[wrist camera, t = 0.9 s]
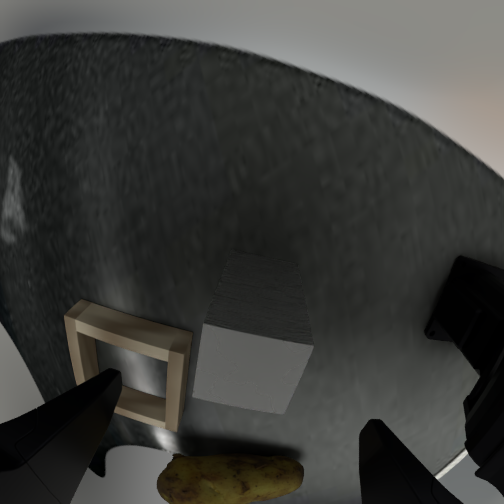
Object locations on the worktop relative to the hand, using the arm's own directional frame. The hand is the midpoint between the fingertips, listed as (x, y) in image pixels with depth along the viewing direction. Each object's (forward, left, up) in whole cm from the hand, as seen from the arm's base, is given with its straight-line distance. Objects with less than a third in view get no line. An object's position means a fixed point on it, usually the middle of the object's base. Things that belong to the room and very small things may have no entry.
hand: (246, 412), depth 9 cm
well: (+8, +9, -10) cm, 16 cm away
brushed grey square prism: (0, 0, -10) cm, 10 cm away
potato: (-2, +19, -10) cm, 22 cm away
